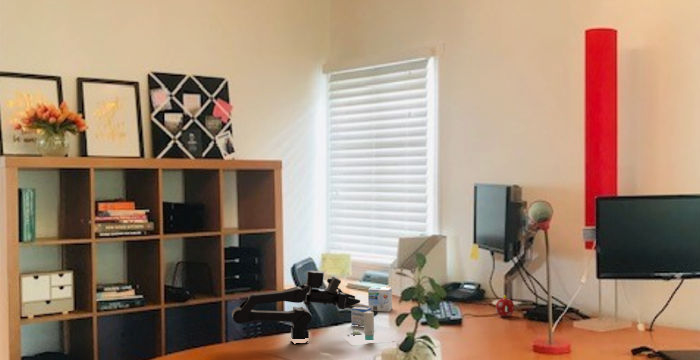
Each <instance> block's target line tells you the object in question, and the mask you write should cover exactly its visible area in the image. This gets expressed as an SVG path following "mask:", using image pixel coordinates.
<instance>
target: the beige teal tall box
mask: <svg viewBox="0 0 700 360" xmlns="http://www.w3.org/2000/svg"><path fill="white" fill-rule="evenodd" d="M374 313H375V312H374V311H371V312H370V311H368V312H364V327H363V334H364V335H365V340H374V332H375V316H374V315H375V314H374Z"/></svg>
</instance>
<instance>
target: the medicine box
mask: <svg viewBox="0 0 700 360" xmlns="http://www.w3.org/2000/svg"><path fill="white" fill-rule="evenodd" d="M368 311H370V312H372V311H371V308H369V307H363V306H354V307H352V308H351V311H350V312H351V313H350V314H351V326H352V325H358V326H364V312H368Z"/></svg>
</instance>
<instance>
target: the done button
mask: <svg viewBox="0 0 700 360" xmlns="http://www.w3.org/2000/svg"><path fill="white" fill-rule="evenodd" d="M359 332H360V330H357V329H355V330H352V333H353V335H359Z"/></svg>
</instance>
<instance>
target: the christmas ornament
mask: <svg viewBox="0 0 700 360" xmlns="http://www.w3.org/2000/svg"><path fill="white" fill-rule="evenodd" d="M495 303H496V304H495V311H496V313H497V314H498V315H499V316H501V317H504V318H507V317H509V316H512V315H513V313H514V311H515V309H516V308H515V303H514V302H513V301H512V300H511V299H510V298H508V297H507V296H506V294H504V295H503V298H500V299H499V300H498V301H496V302H495Z"/></svg>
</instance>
